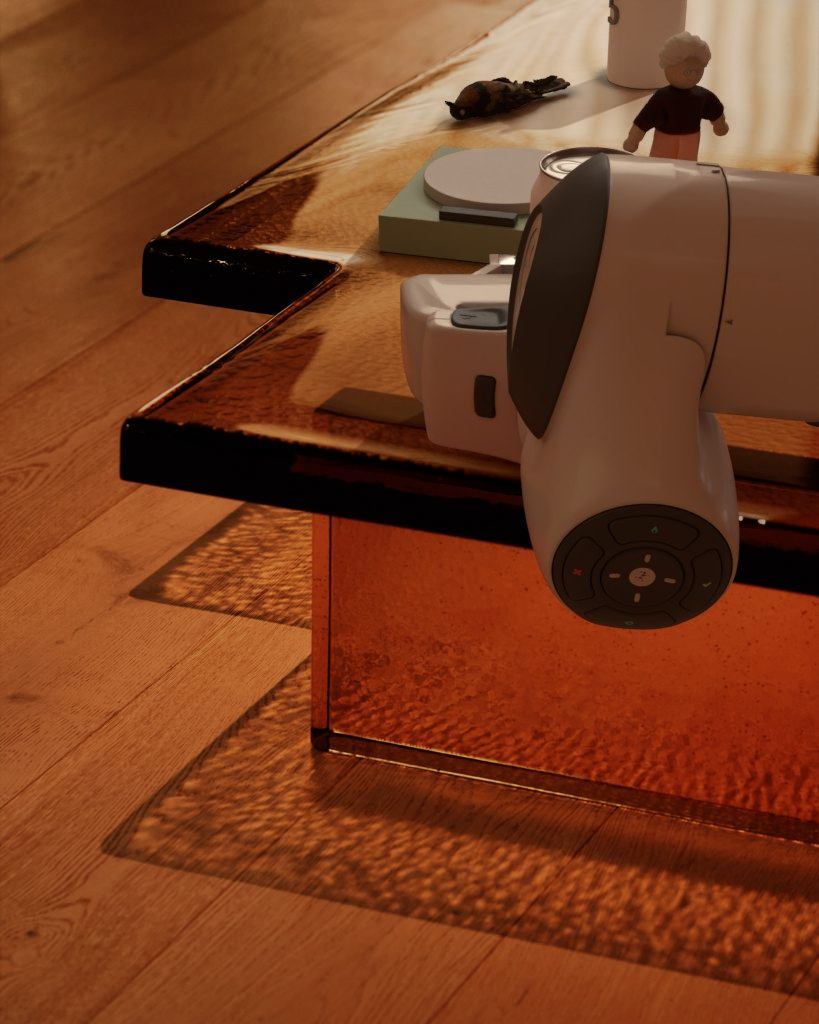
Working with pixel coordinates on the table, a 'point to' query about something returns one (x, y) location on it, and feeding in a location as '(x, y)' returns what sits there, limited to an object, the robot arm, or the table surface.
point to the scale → (463, 204)
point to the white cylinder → (641, 40)
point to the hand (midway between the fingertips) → (590, 266)
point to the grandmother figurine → (679, 103)
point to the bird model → (501, 96)
